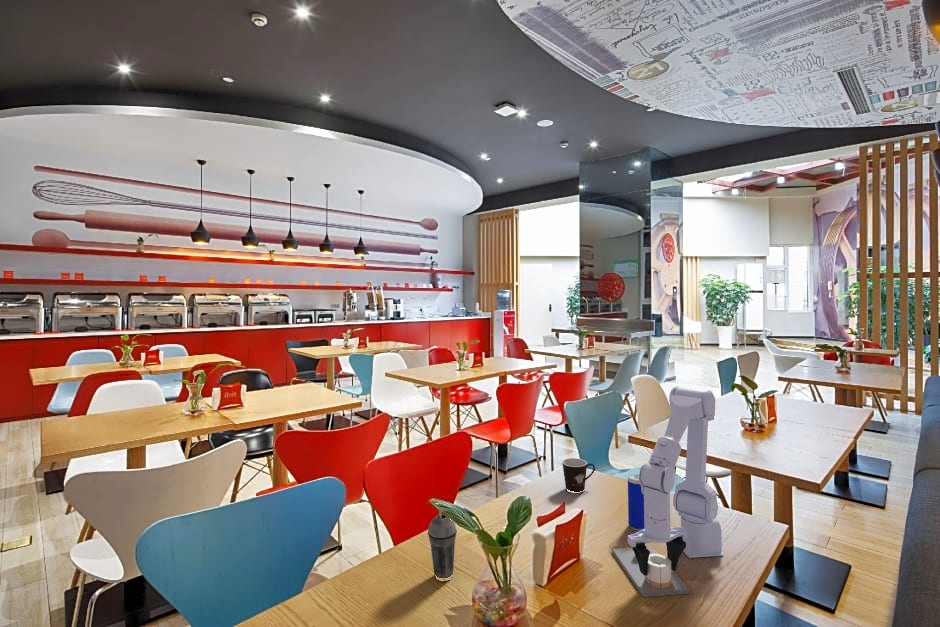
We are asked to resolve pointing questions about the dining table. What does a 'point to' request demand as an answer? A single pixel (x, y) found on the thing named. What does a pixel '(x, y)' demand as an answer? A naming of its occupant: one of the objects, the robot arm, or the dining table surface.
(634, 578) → the pin board
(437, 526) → the beverage cup
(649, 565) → the sleeve
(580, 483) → the coffee mug
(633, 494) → the beverage can
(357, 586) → the dining table surface
